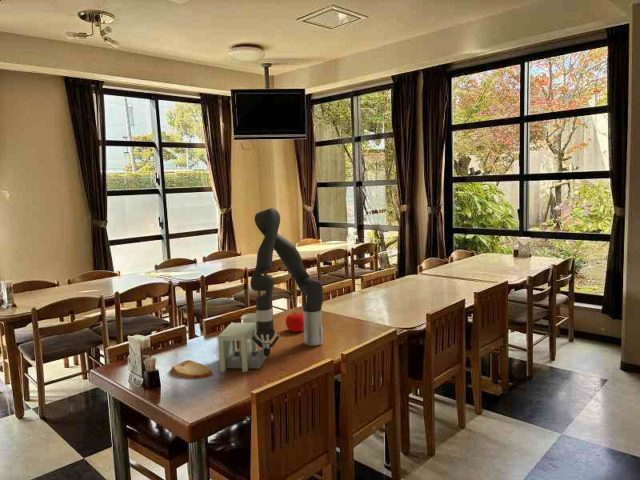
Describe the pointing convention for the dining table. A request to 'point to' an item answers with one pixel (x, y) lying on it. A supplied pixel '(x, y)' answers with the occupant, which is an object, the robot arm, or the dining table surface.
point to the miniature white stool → (229, 342)
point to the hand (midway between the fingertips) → (267, 355)
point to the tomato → (295, 322)
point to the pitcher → (250, 321)
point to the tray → (256, 361)
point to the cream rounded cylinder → (249, 350)
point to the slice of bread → (191, 370)
